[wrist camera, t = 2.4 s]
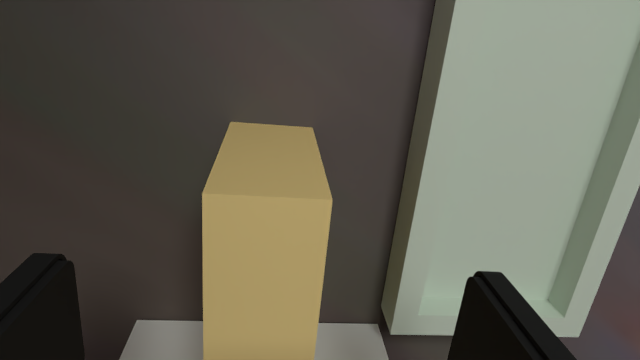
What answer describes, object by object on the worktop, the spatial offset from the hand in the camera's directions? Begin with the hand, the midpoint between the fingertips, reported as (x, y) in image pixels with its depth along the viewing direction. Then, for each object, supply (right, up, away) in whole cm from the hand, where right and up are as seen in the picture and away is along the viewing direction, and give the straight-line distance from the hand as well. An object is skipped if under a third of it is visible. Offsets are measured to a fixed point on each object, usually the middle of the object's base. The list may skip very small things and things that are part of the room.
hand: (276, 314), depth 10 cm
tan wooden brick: (-1, 0, +8) cm, 8 cm away
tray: (+9, +5, +7) cm, 12 cm away
